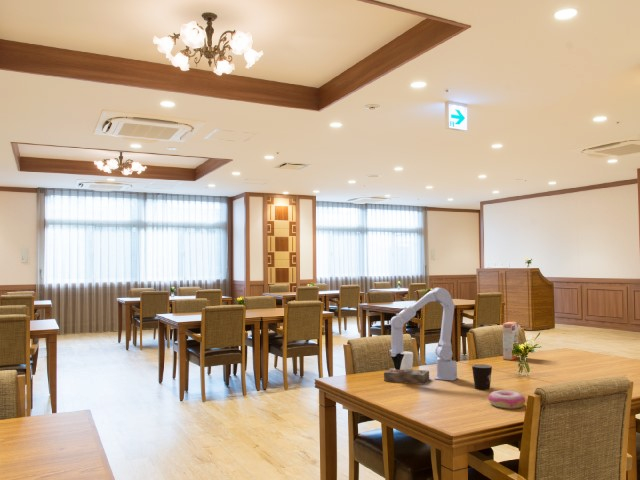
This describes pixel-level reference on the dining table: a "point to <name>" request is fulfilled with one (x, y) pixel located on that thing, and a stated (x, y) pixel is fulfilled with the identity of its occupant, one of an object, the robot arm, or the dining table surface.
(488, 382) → the coffee mug
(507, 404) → the donut
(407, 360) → the white cup
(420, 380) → the housing
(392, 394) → the dining table surface
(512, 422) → the dining table surface
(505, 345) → the cracker box
